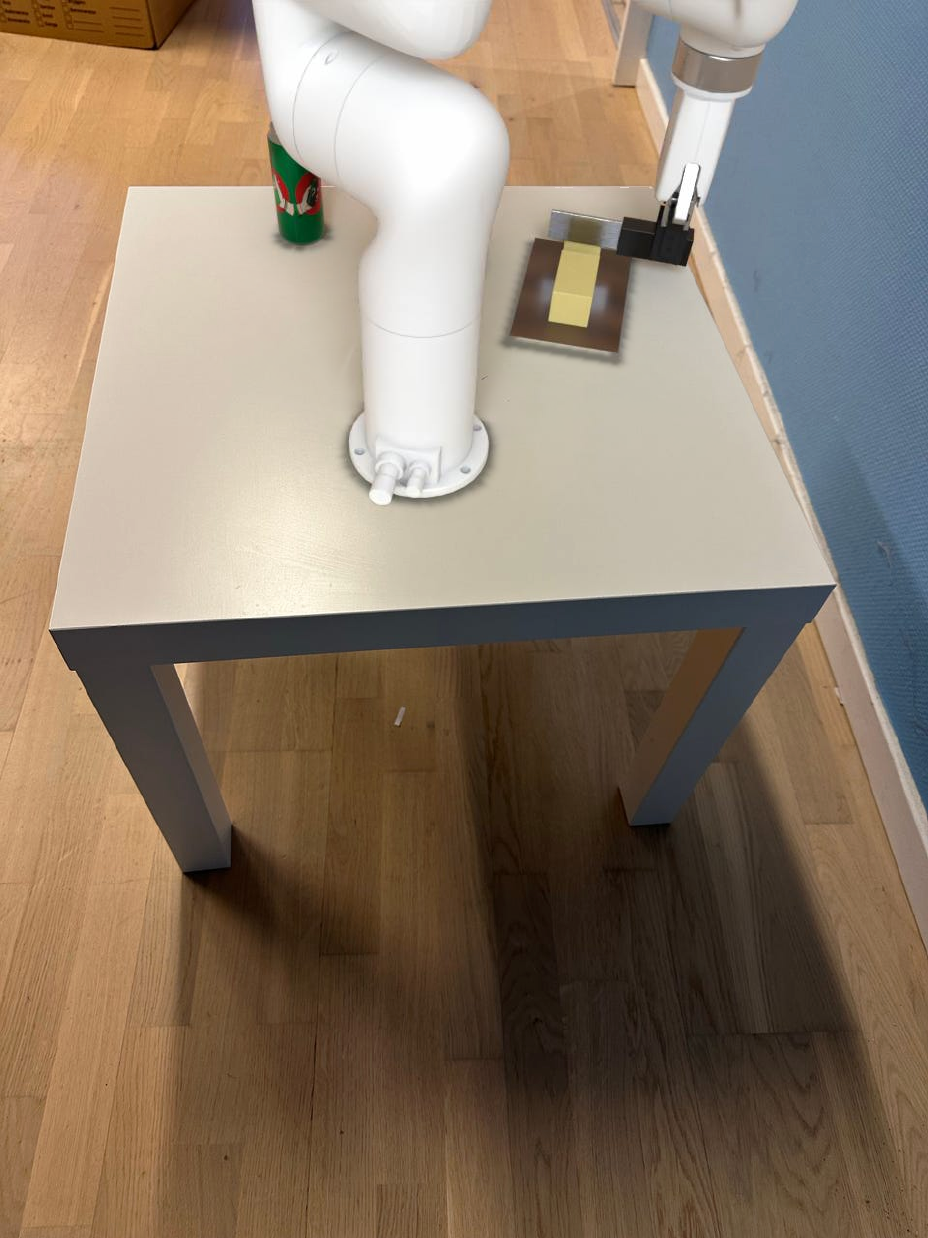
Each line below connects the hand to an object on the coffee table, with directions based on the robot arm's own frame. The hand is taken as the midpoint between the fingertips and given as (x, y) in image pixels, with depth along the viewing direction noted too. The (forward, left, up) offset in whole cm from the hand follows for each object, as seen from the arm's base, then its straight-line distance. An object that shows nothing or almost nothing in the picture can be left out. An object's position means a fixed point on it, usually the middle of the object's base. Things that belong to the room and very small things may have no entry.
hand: (665, 250), depth 95 cm
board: (-5, +9, -4) cm, 11 cm away
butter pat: (+2, +9, -3) cm, 9 cm away
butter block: (-7, +9, -3) cm, 12 cm away
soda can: (-1, +40, -4) cm, 40 cm away
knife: (0, +5, -1) cm, 5 cm away
